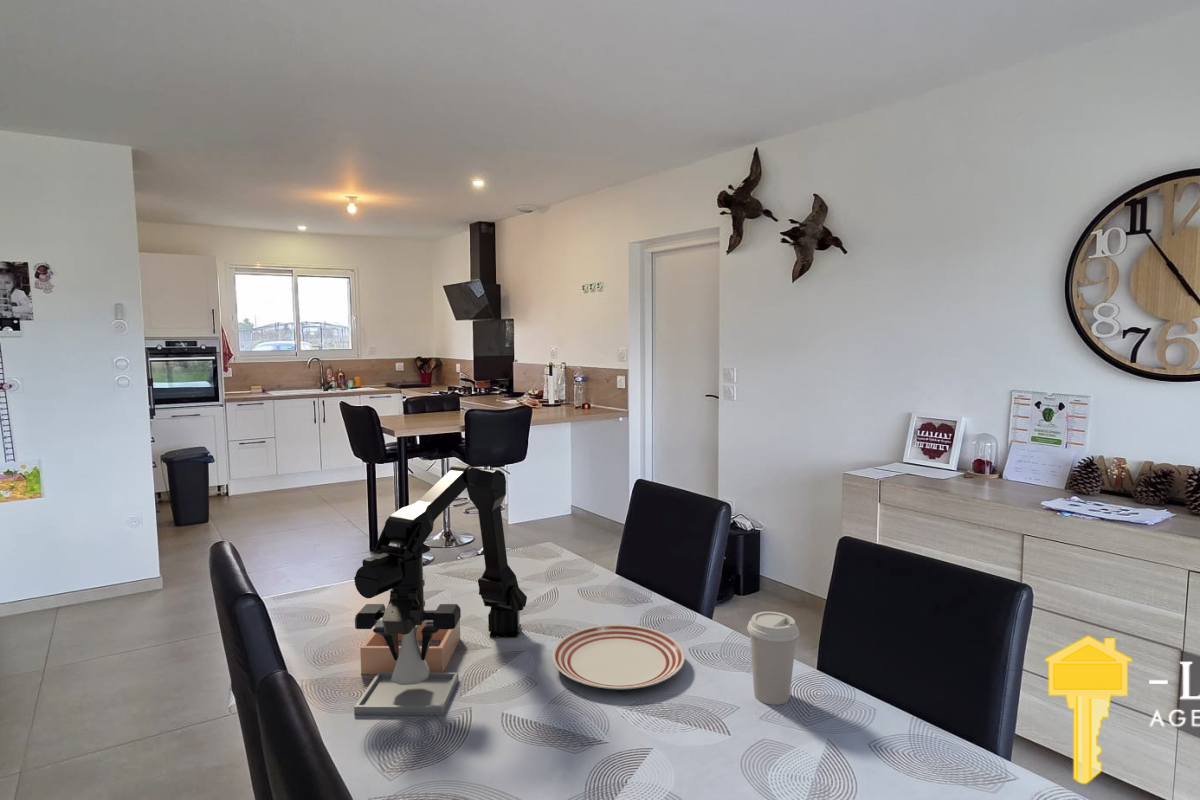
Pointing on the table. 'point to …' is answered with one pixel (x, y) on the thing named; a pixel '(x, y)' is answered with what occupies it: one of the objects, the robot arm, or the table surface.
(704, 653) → the table surface
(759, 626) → the coffee cup
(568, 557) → the table surface
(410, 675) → the flask
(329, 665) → the table surface
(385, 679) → the grey tray
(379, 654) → the terracotta box
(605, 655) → the dinner plate
